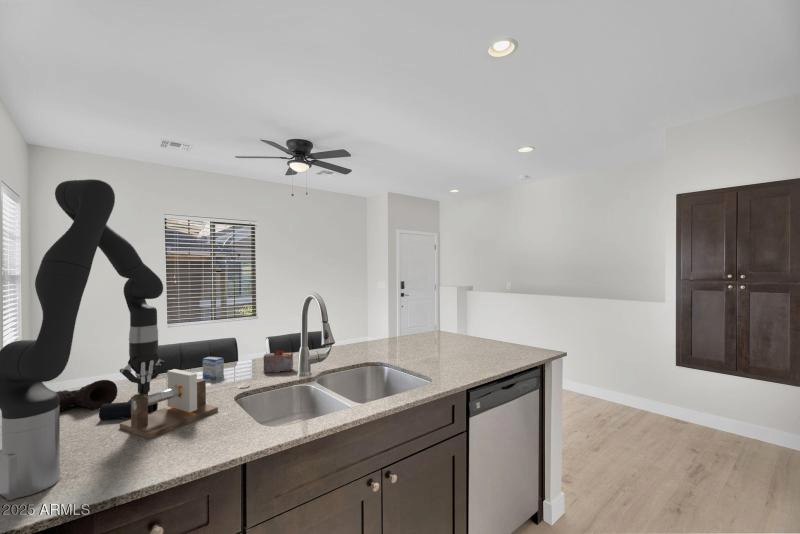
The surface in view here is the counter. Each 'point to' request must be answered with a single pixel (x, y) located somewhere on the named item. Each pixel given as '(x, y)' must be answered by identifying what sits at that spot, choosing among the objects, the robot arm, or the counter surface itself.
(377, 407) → the counter surface
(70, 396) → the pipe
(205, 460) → the counter surface
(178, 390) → the steel pipe
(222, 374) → the medicine box
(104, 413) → the pipe connector
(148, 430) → the pipe stand
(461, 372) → the counter surface
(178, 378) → the white flat block
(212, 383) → the counter surface
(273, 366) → the food item
